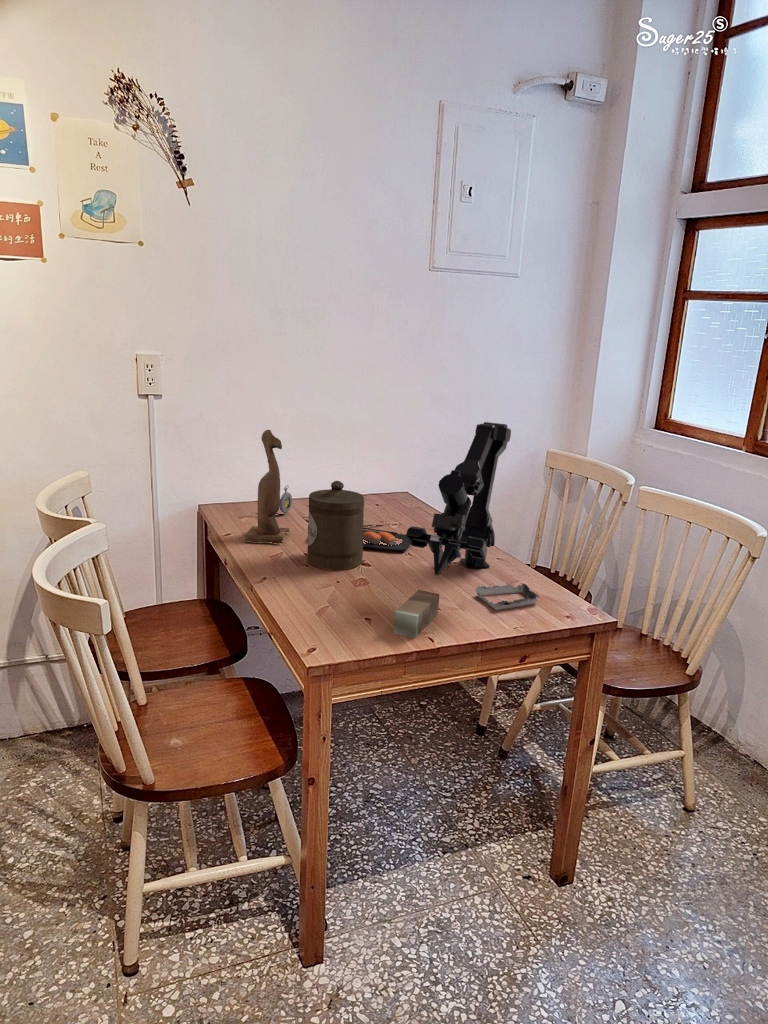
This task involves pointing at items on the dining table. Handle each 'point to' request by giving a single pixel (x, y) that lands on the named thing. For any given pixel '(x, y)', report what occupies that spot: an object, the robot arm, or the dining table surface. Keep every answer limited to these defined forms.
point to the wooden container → (335, 528)
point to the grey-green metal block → (416, 613)
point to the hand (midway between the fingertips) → (436, 574)
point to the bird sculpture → (268, 498)
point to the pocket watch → (285, 501)
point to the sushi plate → (384, 539)
